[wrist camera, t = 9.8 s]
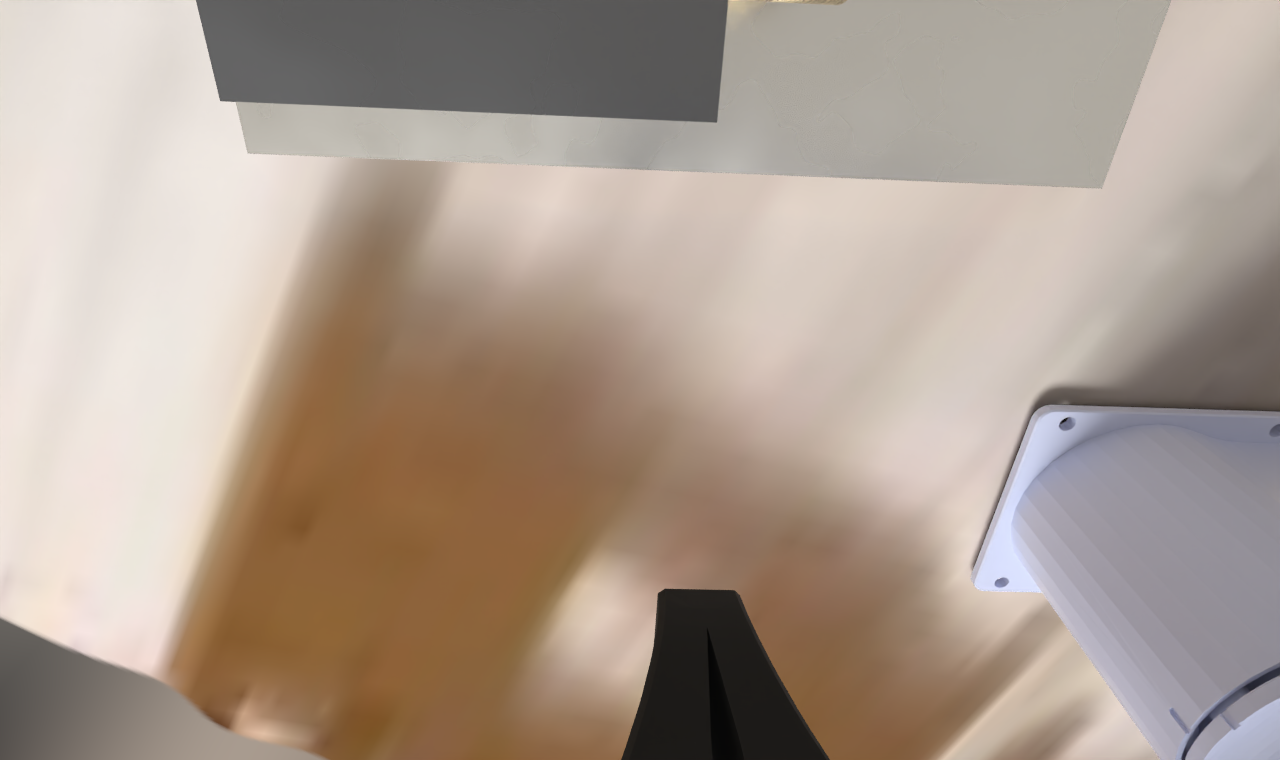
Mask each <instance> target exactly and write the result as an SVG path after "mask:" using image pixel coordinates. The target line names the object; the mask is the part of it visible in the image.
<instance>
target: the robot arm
mask: <svg viewBox="0 0 1280 760" xmlns="http://www.w3.org/2000/svg"><path fill="white" fill-rule="evenodd" d="M1067 417H1069V418H1068V419H1067V421H1065V422H1064V423H1062V424H1060V422H1061V421H1062V420H1063V419H1065V418H1067ZM999 578H1000V579H999ZM971 580H972V582H973V584H974V586H975V587H976V588H977V589H978V590H981V591H1007V592H1042V593H1043V595H1044V596H1045V597H1046V599H1047V600H1048V602H1049V603H1050V604H1051V606H1052V607H1053V609H1054V610H1055V612H1056V613H1057V614H1058V616H1059V617H1060V619H1061V620H1062V621H1063V623H1064V624H1065V626H1066V627H1067V628H1068V630H1069V631H1070V633H1071V634H1072V636H1073V637H1074V638H1075V640H1076V641H1077V643H1078V644H1079V645H1080V647H1081V648H1082V650H1083V651H1084V652H1085V654H1086V655H1087V657H1088V658H1089V660H1090V661H1091V662H1092V664H1093V665H1094V667H1095V668H1096V669H1097V671H1098V672H1099V674H1100V675H1101V676H1102V678H1103V679H1104V681H1105V682H1106V684H1107V685H1108V686H1109V688H1110V689H1111V691H1112V692H1113V693H1114V695H1115V696H1116V698H1117V699H1118V701H1119V702H1120V703H1121V705H1122V706H1123V708H1124V709H1125V710H1126V712H1127V713H1128V715H1129V716H1130V717H1131V719H1132V720H1133V722H1134V723H1135V725H1136V726H1137V727H1138V729H1139V730H1140V732H1141V733H1142V734H1143V736H1144V737H1145V739H1146V740H1147V741H1148V743H1149V744H1150V746H1151V747H1152V749H1153V750H1154V751H1155V753H1156V754H1157V756H1158V757H1159V758H1160V760H1280V412H1273V411H1241V410H1208V409H1176V408H1144V407H1111V406H1079V405H1045V406H1043V407H1041V408H1039V409H1038V410H1037V411H1035V412H1034V414H1033V415H1032V417H1031V420H1030V422H1029V425H1028V427H1027V430H1026V433H1025V435H1024V438H1023V441H1022V443H1021V446H1020V448H1019V451H1018V454H1017V456H1016V459H1015V461H1014V464H1013V467H1012V469H1011V472H1010V475H1009V477H1008V480H1007V482H1006V485H1005V488H1004V490H1003V493H1002V496H1001V498H1000V501H999V503H998V506H997V509H996V511H995V514H994V516H993V519H992V522H991V524H990V527H989V530H988V532H987V535H986V537H985V540H984V543H983V545H982V548H981V551H980V553H979V556H978V558H977V561H976V564H975V566H974V569H973V571H972V574H971ZM621 760H830V759H829V758H828V756H827V755H826V753H825V752H824V750H823V749H822V747H821V745H820V744H819V742H818V741H817V739H816V738H815V736H814V735H813V733H812V732H811V730H810V728H809V727H808V725H807V724H806V722H805V720H804V719H803V717H802V715H801V714H800V712H799V710H798V709H797V707H796V705H795V704H794V702H793V700H792V698H791V697H790V695H789V693H788V691H787V690H786V688H785V686H784V685H783V683H782V681H781V679H780V678H779V676H778V674H777V672H776V670H775V668H774V667H773V665H772V663H771V661H770V659H769V657H768V655H767V653H766V651H765V649H764V647H763V646H762V644H761V642H760V640H759V638H758V636H757V633H756V631H755V629H754V627H753V625H752V623H751V621H750V619H749V616H748V614H747V612H746V609H745V607H744V605H743V602H742V600H741V597H740V595H739V594H738V593H737V592H736V591H735V590H695V589H664V590H662V591H661V592H659V593H658V600H657V613H656V626H655V639H654V647H653V653H652V658H651V662H650V666H649V670H648V674H647V678H646V682H645V686H644V690H643V694H642V697H641V701H640V704H639V708H638V711H637V714H636V717H635V720H634V723H633V726H632V729H631V732H630V736H629V739H628V742H627V745H626V748H625V751H624V754H623V756H622V759H621Z"/></svg>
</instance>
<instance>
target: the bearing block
mask: <svg viewBox="0 0 1280 760" xmlns="http://www.w3.org/2000/svg"><path fill="white" fill-rule="evenodd" d="M196 2H197V6H198V11H199V15H200V19H201V23H202V27H203V31H204V35H205V40H206V44H207V48H208V52H209V56H210V60H211V64H212V69H213V73H214V77H215V81H216V85H217V89H218V93H219V98H220V101H230V102H236V105H237V109H238V113H239V118H240V122H241V126H242V131H243V135H244V139H245V144H246V148H247V152H248V153H250V154H275V155H299V156H323V157H348V158H372V159H396V160H421V161H445V162H469V163H493V164H518V165H542V166H566V167H591V168H615V169H639V170H664V171H688V172H712V173H736V174H761V175H785V176H809V177H834V178H858V179H882V180H907V181H931V182H955V183H980V184H1004V185H1028V186H1052V187H1077V188H1101V189H1102V186H1103V184H1104V181H1105V178H1106V175H1107V173H1108V170H1109V167H1110V165H1111V162H1112V159H1113V157H1114V154H1115V151H1116V148H1117V146H1118V143H1119V140H1120V138H1121V135H1122V132H1123V130H1124V127H1125V124H1126V121H1127V119H1128V116H1129V113H1130V111H1131V108H1132V105H1133V102H1134V100H1135V97H1136V94H1137V92H1138V89H1139V86H1140V84H1141V81H1142V78H1143V75H1144V73H1145V70H1146V67H1147V65H1148V62H1149V59H1150V56H1151V54H1152V51H1153V48H1154V46H1155V43H1156V40H1157V38H1158V35H1159V32H1160V29H1161V27H1162V24H1163V21H1164V19H1165V16H1166V13H1167V11H1168V8H1169V5H1170V2H1171V0H847V1H845V2H844V3H843V4H840V5H822V4H802V3H782V2H761V1H755V0H196Z"/></svg>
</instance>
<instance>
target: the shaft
mask: <svg viewBox="0 0 1280 760" xmlns="http://www.w3.org/2000/svg"><path fill="white" fill-rule="evenodd" d="M755 1H761V2H782V3H802V4H822V5H840V4H843V3H844V2H845V1H847V0H755Z"/></svg>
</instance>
